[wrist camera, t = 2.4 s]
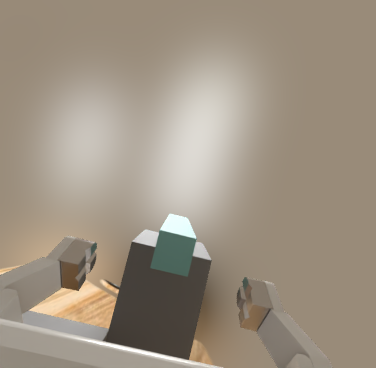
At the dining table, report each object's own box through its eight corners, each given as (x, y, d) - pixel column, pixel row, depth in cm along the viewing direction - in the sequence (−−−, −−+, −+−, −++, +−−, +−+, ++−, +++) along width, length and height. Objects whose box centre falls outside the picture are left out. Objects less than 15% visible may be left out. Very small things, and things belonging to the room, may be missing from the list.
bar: (187, 276, 22) (196, 238, 22) (150, 267, 22) (159, 229, 22) (183, 236, 46) (187, 218, 46) (165, 231, 46) (169, 213, 46)
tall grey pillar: (147, 733, 15) (238, 311, 17) (-217, 667, 14) (-72, 238, 16) (167, 391, 41) (202, 243, 43) (40, 363, 40) (82, 214, 42)
